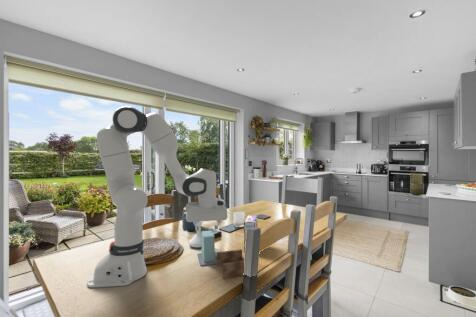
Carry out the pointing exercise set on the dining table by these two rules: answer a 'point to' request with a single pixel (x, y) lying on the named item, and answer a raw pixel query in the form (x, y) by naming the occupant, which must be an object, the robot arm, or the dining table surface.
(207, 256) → the teal block
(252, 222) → the candy box
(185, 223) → the canister
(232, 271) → the walnut rack
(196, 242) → the flower in vase
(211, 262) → the slate coaster
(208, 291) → the dining table surface
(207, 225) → the dining table surface
